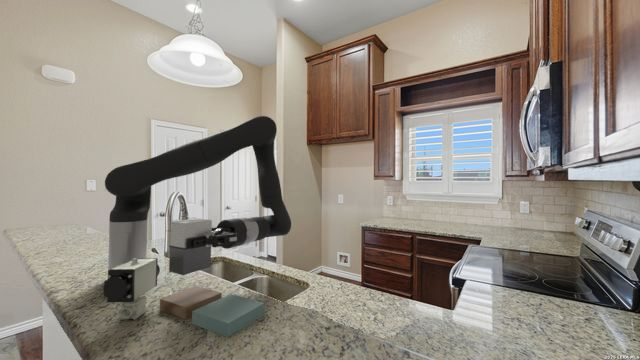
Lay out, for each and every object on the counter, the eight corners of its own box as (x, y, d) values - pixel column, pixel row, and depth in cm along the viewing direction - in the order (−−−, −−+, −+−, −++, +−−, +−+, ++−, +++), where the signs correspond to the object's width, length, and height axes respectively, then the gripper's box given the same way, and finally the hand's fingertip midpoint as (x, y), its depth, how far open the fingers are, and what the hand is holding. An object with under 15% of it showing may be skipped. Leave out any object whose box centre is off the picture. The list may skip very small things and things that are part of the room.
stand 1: (159, 310, 59) (160, 298, 60) (195, 296, 67) (196, 286, 67) (186, 319, 55) (186, 307, 55) (221, 303, 63) (221, 292, 63)
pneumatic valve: (160, 304, 63) (161, 252, 63) (126, 330, 51) (128, 266, 51) (135, 304, 62) (136, 252, 63) (95, 331, 51) (97, 266, 51)
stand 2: (191, 323, 54) (192, 311, 54) (230, 304, 62) (230, 293, 62) (228, 337, 49) (228, 323, 49) (264, 314, 58) (264, 302, 58)
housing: (168, 271, 60) (170, 221, 60) (197, 263, 66) (198, 218, 66) (182, 275, 57) (184, 223, 58) (211, 267, 64) (212, 220, 64)
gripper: (220, 216, 78) (161, 222, 63) (258, 220, 71) (203, 228, 56) (219, 242, 78) (160, 255, 63) (257, 249, 71) (201, 264, 56)
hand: (180, 242), depth 59 cm, fingers closed on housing, 5 cm apart
